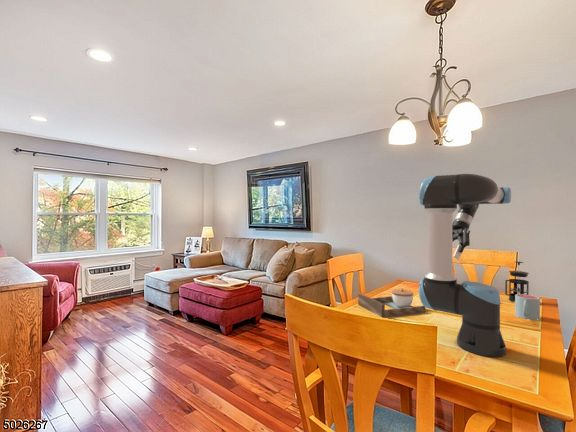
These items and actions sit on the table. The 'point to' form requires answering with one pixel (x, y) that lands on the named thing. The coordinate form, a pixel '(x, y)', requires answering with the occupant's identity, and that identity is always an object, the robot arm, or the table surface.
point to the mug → (527, 306)
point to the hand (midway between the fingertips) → (445, 258)
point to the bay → (379, 305)
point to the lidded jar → (402, 298)
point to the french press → (521, 282)
